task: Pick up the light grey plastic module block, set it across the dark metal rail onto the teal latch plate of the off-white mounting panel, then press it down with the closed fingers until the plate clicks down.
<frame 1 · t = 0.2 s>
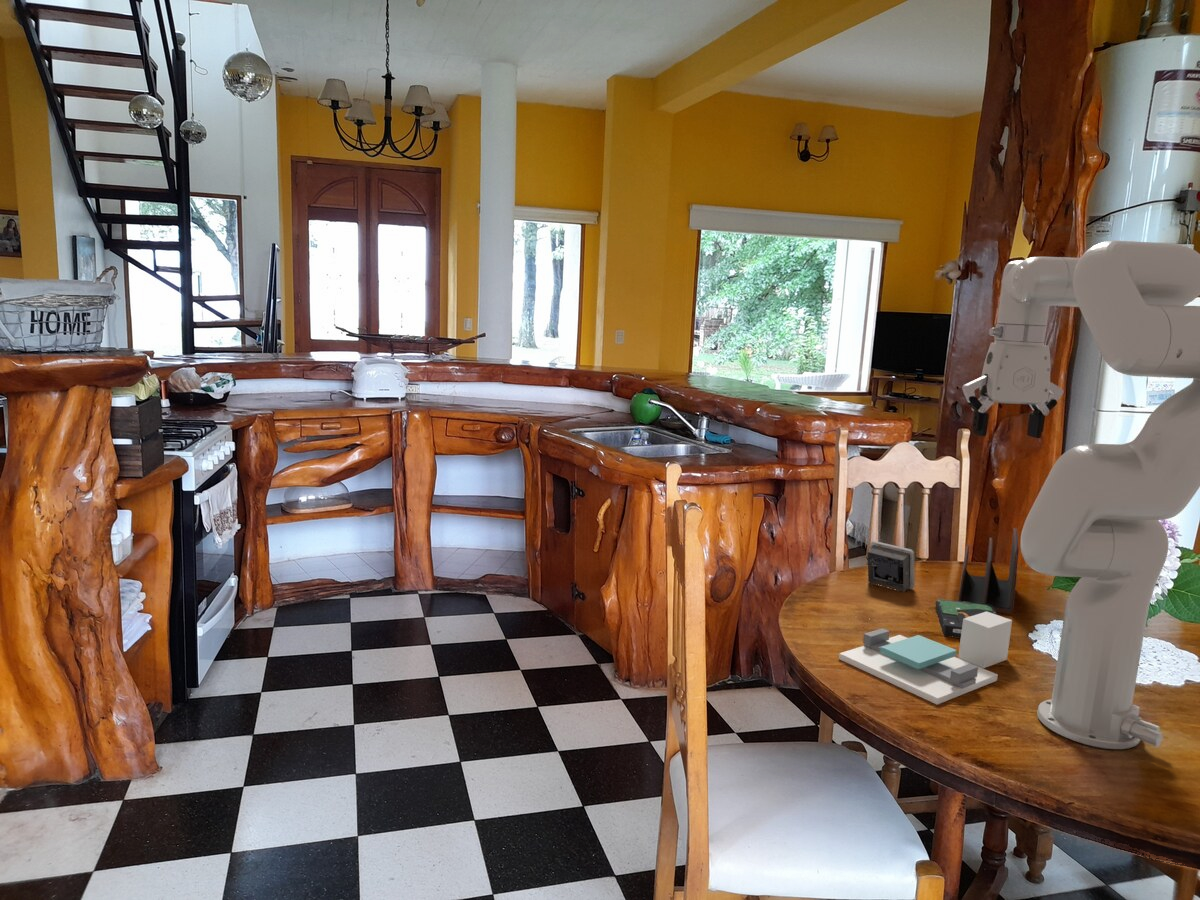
hand: (1006, 436, 142), 36 cm above the table, tool pointing down, fingers open, 9 cm apart
latch plate: (918, 651, 132), point 3 cm above the table, slide at 0.0 cm
disk drive: (967, 628, 153), on the table
module: (982, 659, 138), on the table
rail panel: (916, 669, 133), on the table
letter holder: (984, 597, 170), on the table
electrical switch: (888, 588, 173), on the table
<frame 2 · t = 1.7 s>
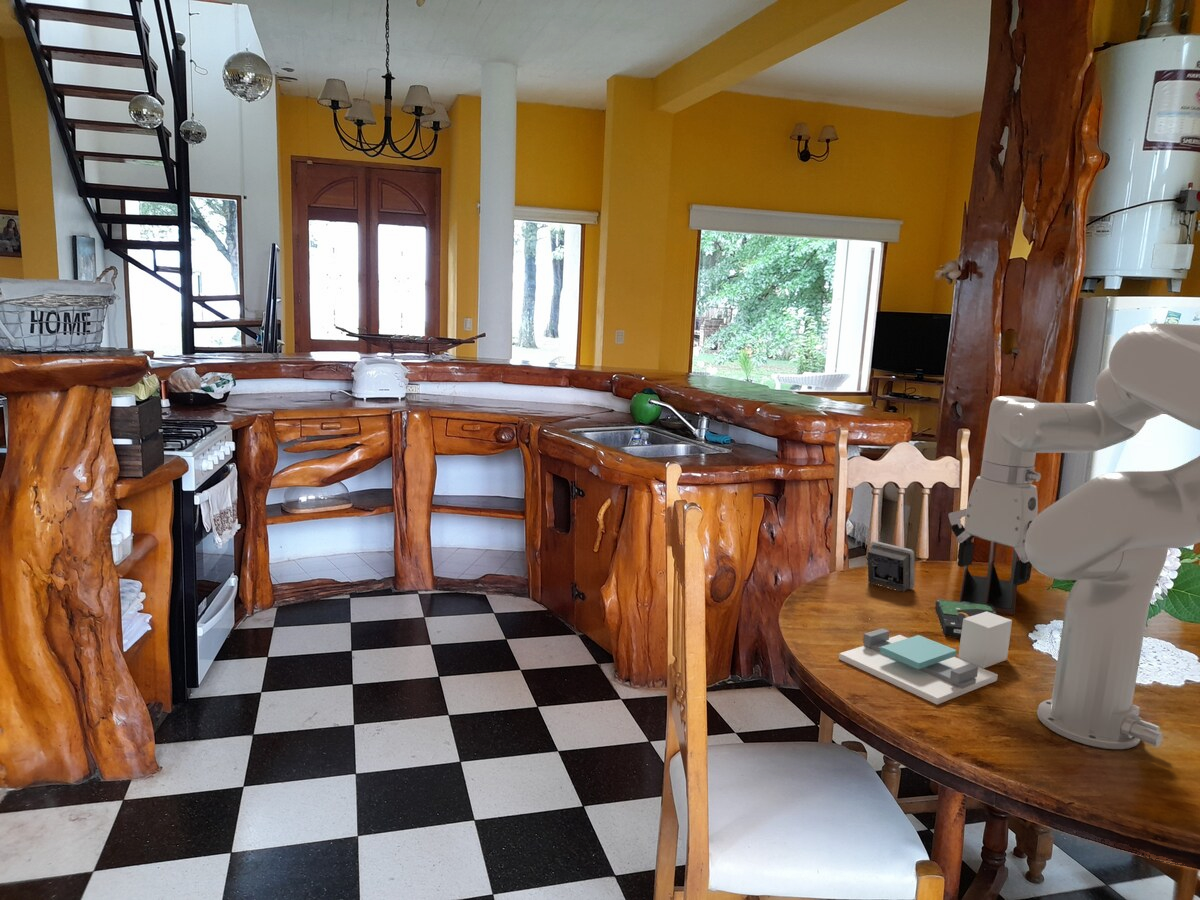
hand: (991, 574, 136), 15 cm above the table, tool pointing down, fingers open, 9 cm apart
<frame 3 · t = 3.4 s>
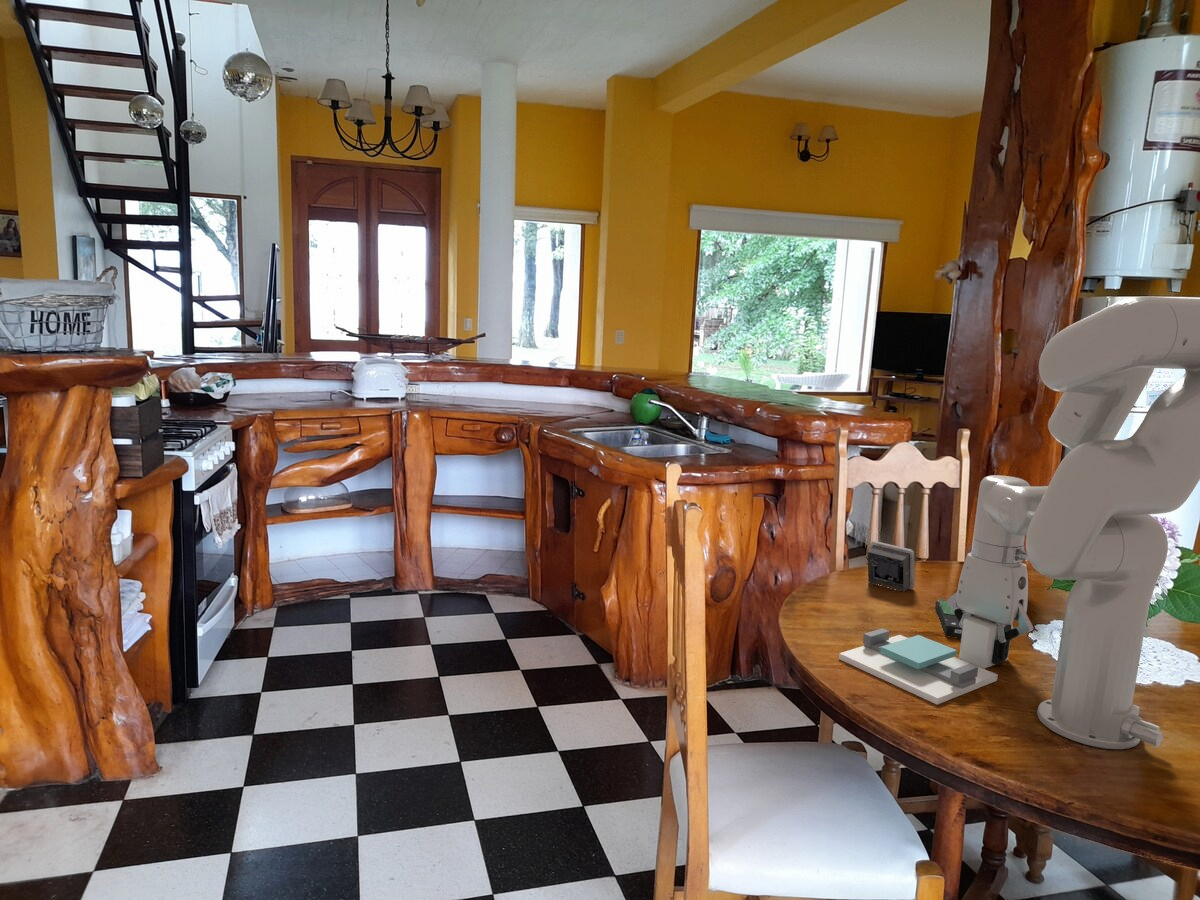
hand: (982, 654, 138), 1 cm above the table, tool pointing down, fingers closed on module, 4 cm apart
module: (983, 659, 138), on the table, touching gripper
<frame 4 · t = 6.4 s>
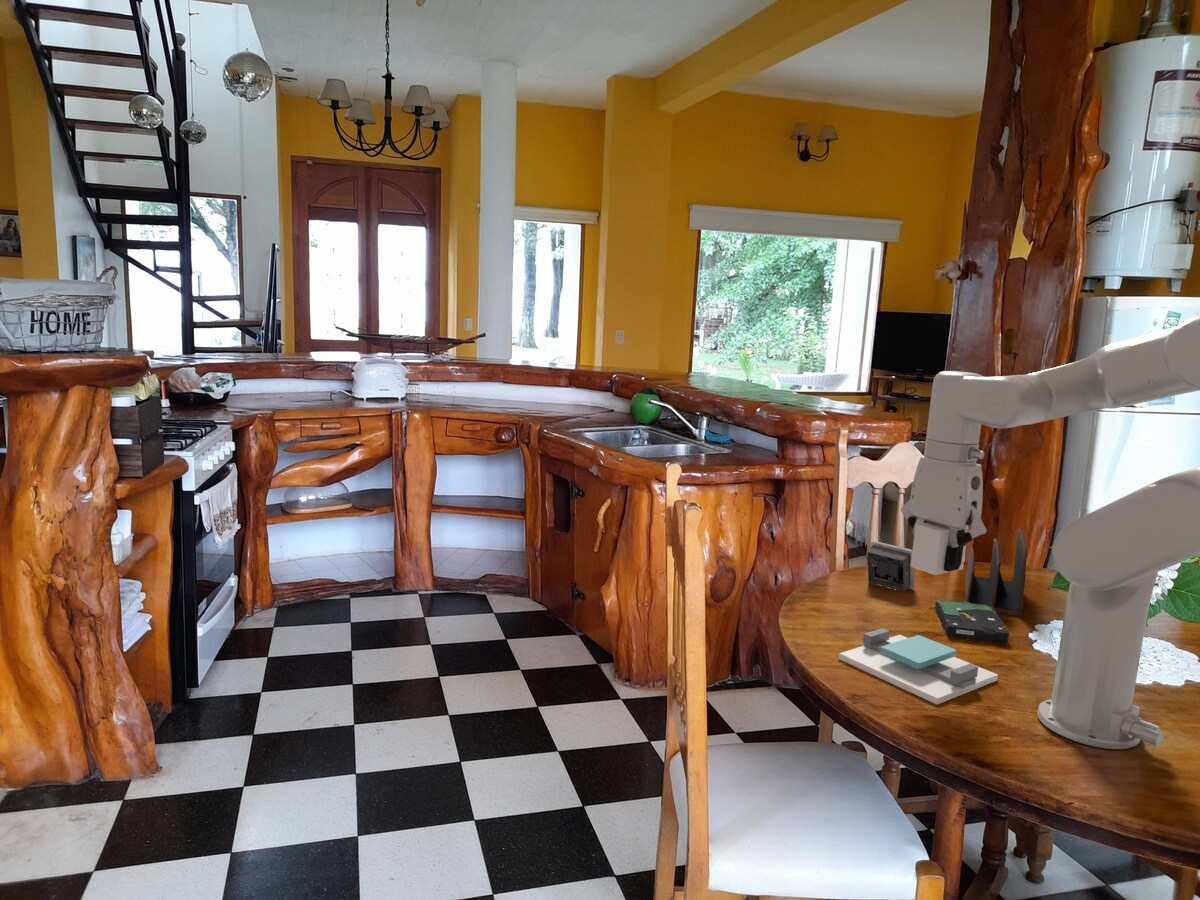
hand: (936, 563, 131), 18 cm above the table, tool pointing down, fingers closed on module, 4 cm apart
module: (936, 567, 131), point 17 cm above the table, touching gripper
when the fingers open (5 cm above the table, at t = 9.2 s): module drops 2 cm, resting on latch plate.
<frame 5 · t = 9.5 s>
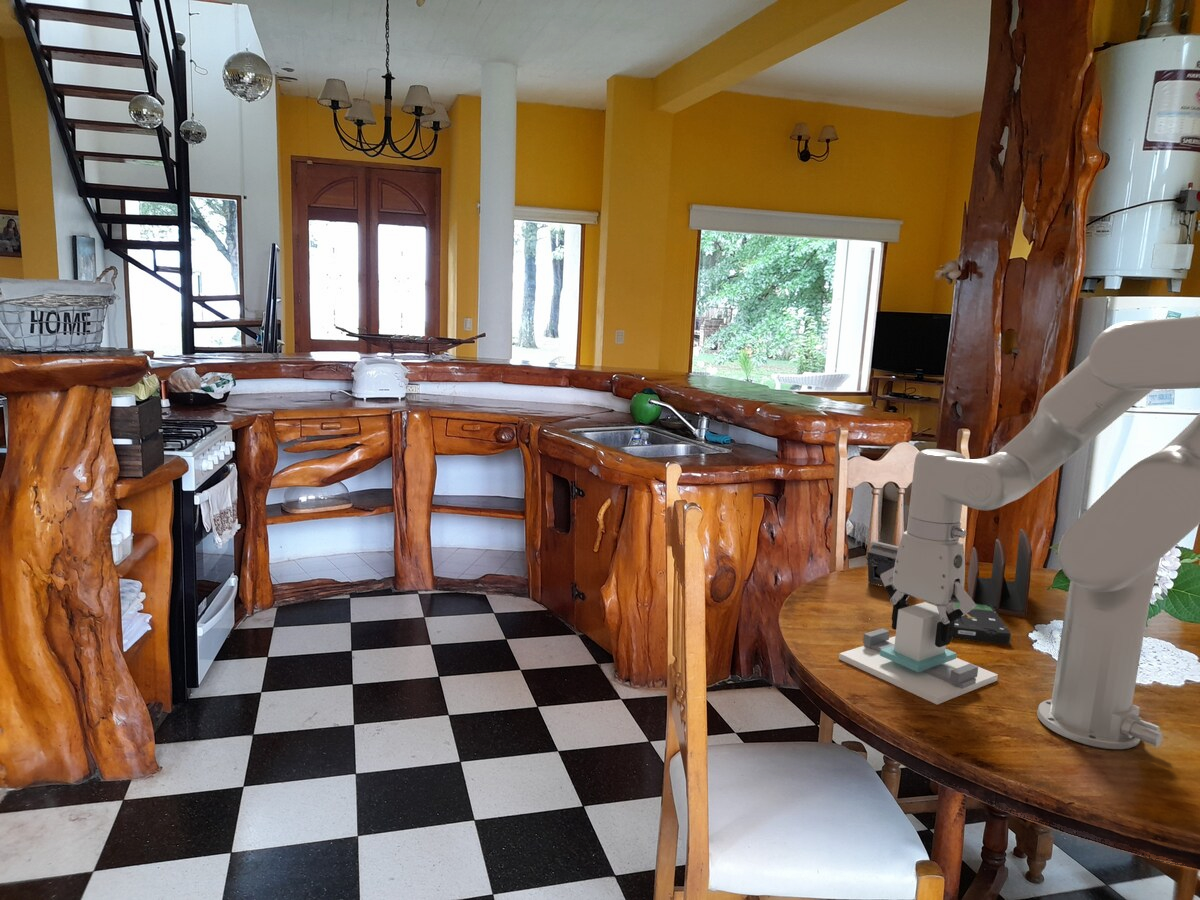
hand: (920, 635, 132), 6 cm above the table, tool pointing down, fingers open, 7 cm apart
latch plate: (918, 654, 132), point 3 cm above the table, slide at 0.5 cm, touching module
module: (919, 651, 132), point 3 cm above the table, touching latch plate
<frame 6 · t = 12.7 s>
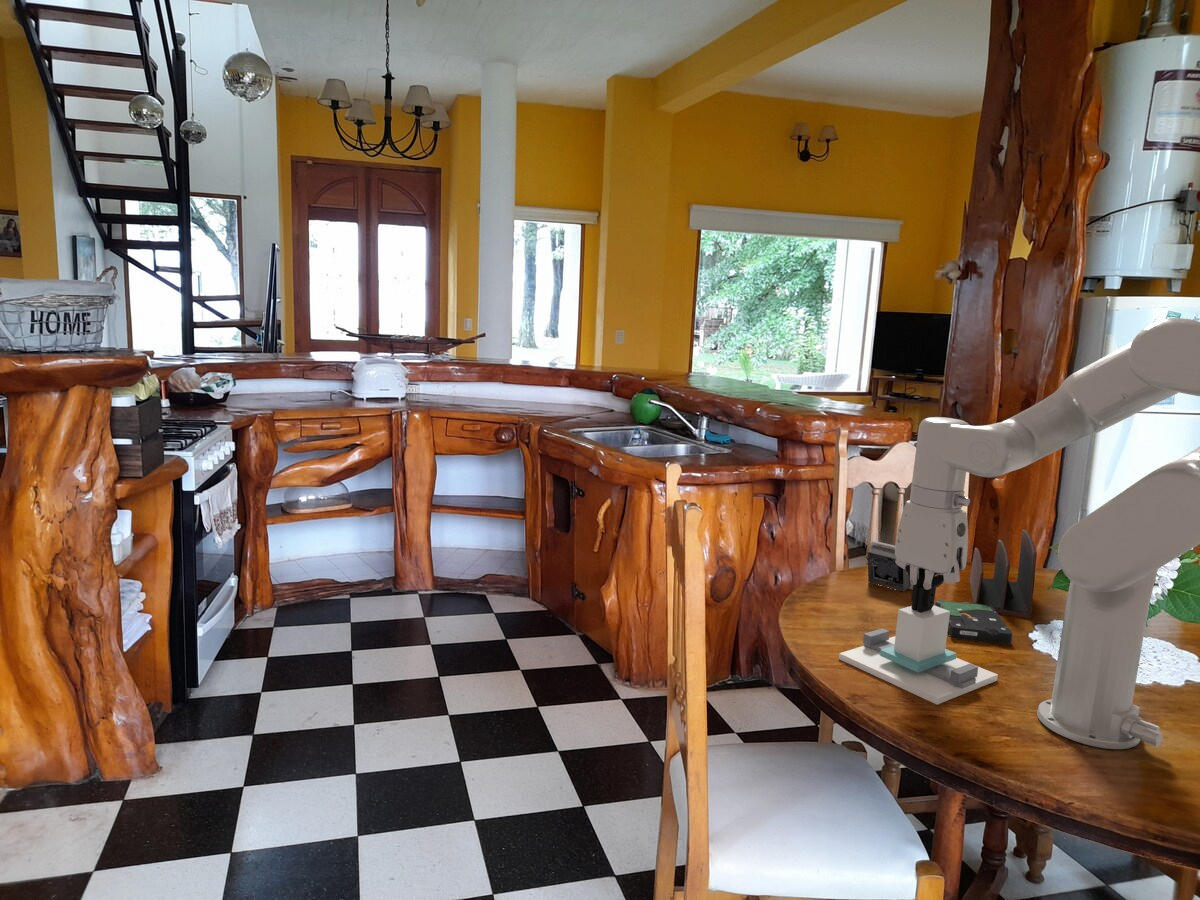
hand: (921, 609, 131), 10 cm above the table, tool pointing down, fingers closed
module: (919, 651, 132), point 3 cm above the table, touching gripper, latch plate
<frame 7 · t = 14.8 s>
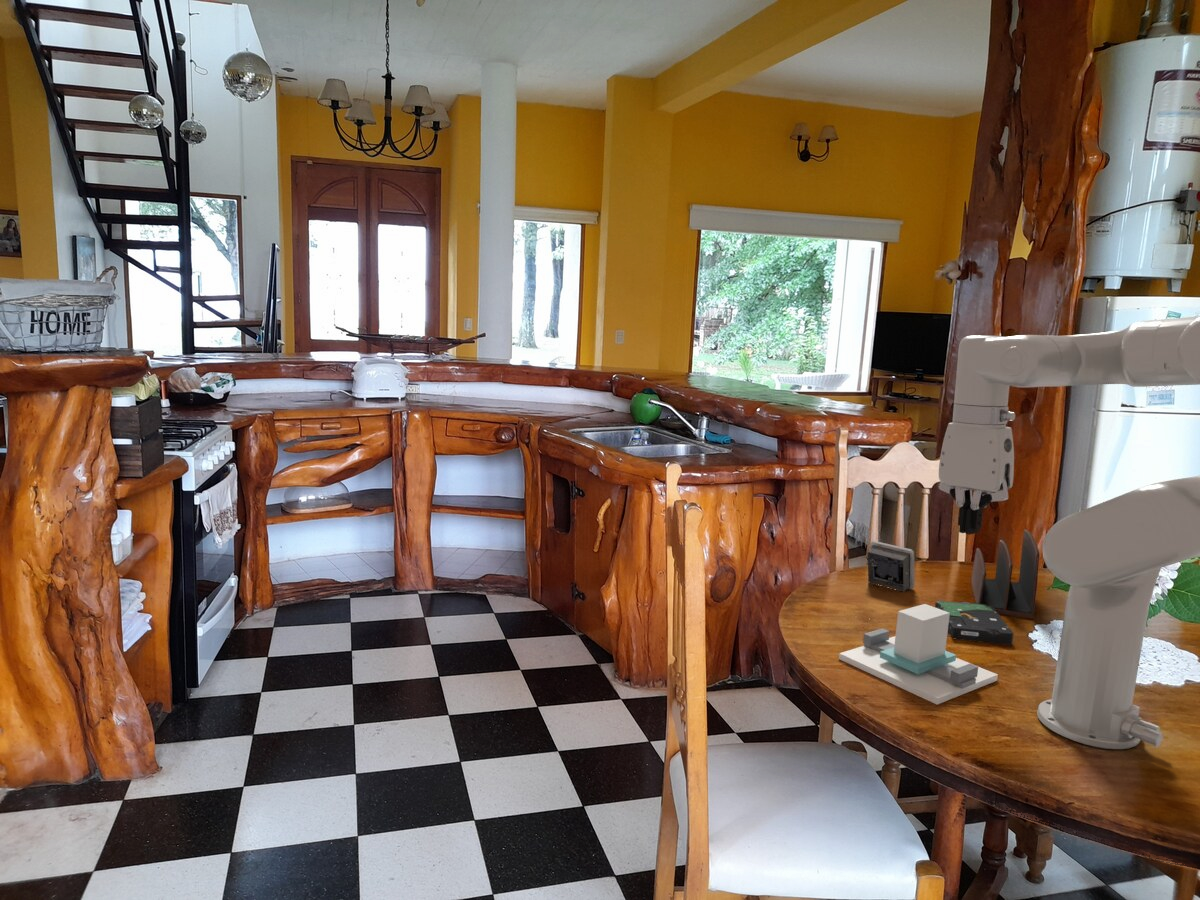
hand: (968, 532, 130), 23 cm above the table, tool pointing down, fingers closed
latch plate: (917, 656, 132), point 2 cm above the table, slide at 0.8 cm, touching rail panel
module: (919, 653, 132), point 3 cm above the table
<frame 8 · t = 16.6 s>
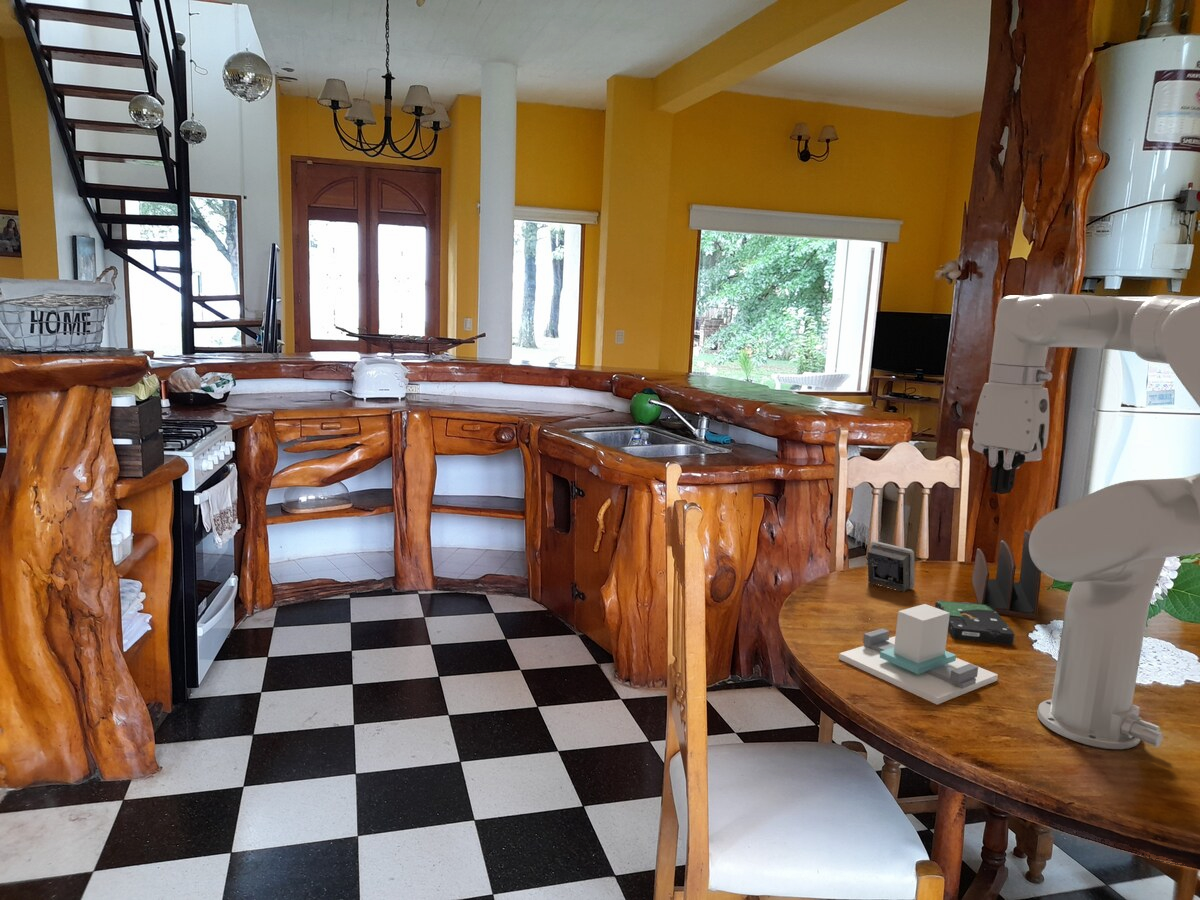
hand: (1000, 492, 131), 29 cm above the table, tool pointing down, fingers closed
at the end: module 0.2 cm off-centre on the rail panel, point 2.8 cm above the rail panel's base; latch plate slide at 0.8 cm; module tilted 0° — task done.
